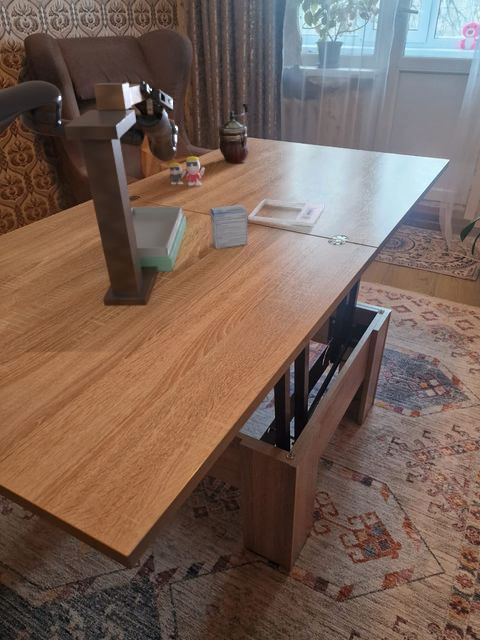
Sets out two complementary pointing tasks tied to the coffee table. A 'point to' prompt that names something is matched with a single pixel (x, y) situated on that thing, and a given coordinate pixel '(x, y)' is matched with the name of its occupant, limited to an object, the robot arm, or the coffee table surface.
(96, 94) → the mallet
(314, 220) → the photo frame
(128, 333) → the coffee table surface
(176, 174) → the toy figures
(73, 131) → the tall wooden post
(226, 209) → the medicine box
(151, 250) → the open plastic tray
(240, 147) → the coffee grinder
